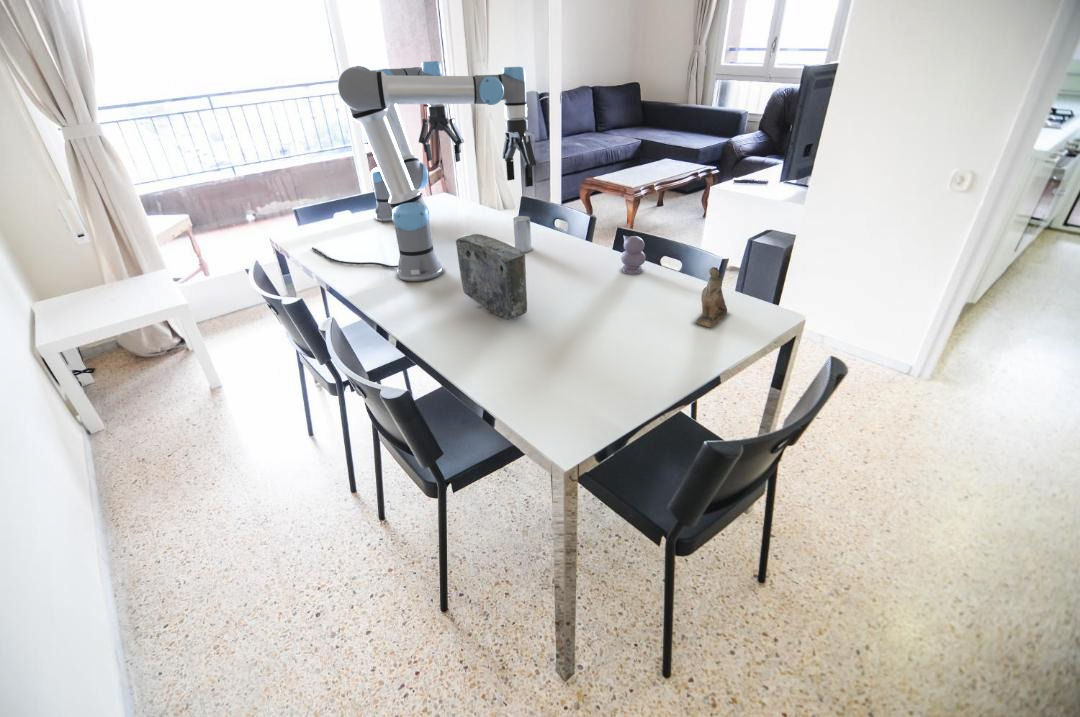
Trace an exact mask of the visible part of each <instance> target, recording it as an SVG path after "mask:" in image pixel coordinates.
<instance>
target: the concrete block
mask: <svg viewBox="0 0 1080 717" xmlns="http://www.w3.org/2000/svg"><path fill="white" fill-rule="evenodd" d="M455 245H456V254H457V259H458V267H459V273H460V280H461V287H462V291H463V293H464V294H465V295H466V296H468V297H469V298H471V299H472V300H473V301H474V302H476V303H477V304H479V305H480V306H482V307H483V308H485V310H487V311H489V312H491V313H492V314H494V315H496V316H497V317H500V318H502V319H503V320H507V321H511V320H514V319H517V318H519V317H521V316H523V315H525V314H526V313H527V312H528V298H527V296H528V293H527V271H526V270H527V269H526V268H527V267H526V254H525V252H522V251H520V250H518V249H517V248H515V246H513V245H511V244H508V243H507V242H504V241H501V240H499V239H496V238H493V237H491V236H489V235H485V234H479V233H472V234H468V235H464V236H460V237H458V238H457V239H456V240H455Z"/></svg>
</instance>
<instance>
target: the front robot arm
mask: <svg viewBox="0 0 1080 717" xmlns="http://www.w3.org/2000/svg"><path fill="white" fill-rule="evenodd" d="M525 70H526V69H525V68H524V67H523V66H505V67H502V71H501V73H499V74H475V75H443V76H387V75H386V74H385V73H384V72H379V71H371V69H369V68H368V67H364V66H361V65H355V66H351V67H348V68H345V69H344V70H343V71H342V72H341V73H340V74H339V75H338V79H337V84H336V86H337V87H336V88H337V93H338V95H339V98H340V99H341V101H342V102H343V103H344V104H345V106H347V107H348V109H349V112H350V115H351V116H352V119H353V121H355V122H356V123H359V124H360V126H361V128H362V131H363V134H364V135H365V138H366V140H367V143H368V146H369V148H370V150H371V152H372V154H373V158H374V160H375V162H376V164H377V167H379V169H380V172H381V174H382V176H383V179H384V181H385V184H386V186H387V188H388V191H389V193H390V195H391V196H390V199H389V204H390V207H391V209H392V215H393V217H392V219H393V221H392V222H393V225H394V230H395V231H394V232H395V236H396V241H397V247H398V251H399V259H398V265H389V264H385V263H381V262H373V261H368V262H366V261H365V262H360V261H359V262H357V261H345V260H339V259H335V258H332V257H330V256H328V255H326V254H325V253H324V252H322V251H321V250H319V249H317V248H315V247H314V246H313V247H311V250H313V251H315V252H317V253H319V254H320V255H322V256H323V257H324V258H326V259H328V260H330V261H333V262H335V263H339V264H347V265H375V266H382V267H385V268H391V269H396V268H397V276H398V278H399V279H400V280H402V281H406V282H413V283H414V282H425V281H429V280H432V279H435V278H438V277H439V276H440V275H441V274H442V273H443V268H442V264H441V263H440V260H439V259H438V256H437V254H436V252H435V250H434V243H433V236H432V230H431V229H432V228H431V222H430V212H429V208H428V207H427V205H426V203H425V201H424V199H423V196H422V195H421V193H422V192H421V191H420V189H418V190H417V189H415V188H414V187H413V184H412V182H411V179H410V177H409V174H408V171H407V169H406V166H405V164H404V161H403V159H402V156H401V153H400V151H399V148H398V146H397V143H396V140H395V138H394V135H393V133H392V130H391V128H390V125H389V122H388V120H387V117H386V113H387V111H388V107H389V106H390V105H391V104H397V105H427V104H444V105H488V106H494V105H497V104H499V103H500V102H501V101H504V118H505V119H506V120H505V131H506V132H505V133H504V144H503V149H502V159H504V161H505V167H506V181H514V180H515V179H516V178H515V163H514V156H515V153H516V151H517V150H518V151H519V153H520V155H521V158H522V160H523V164H524V167H523V169H524V186H525V188H529V187H534V180H533V179H534V178H533V176H534V174H533V168H534V167H535V166H537V162H536V157H535V154H534V150H533V147H532V142H531V136H530V135H526V132H527V131H528V130H529V126H528V123H529V122H528V119H527V117H528V107H527V79H526V71H525ZM420 192H421V193H420Z"/></svg>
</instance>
